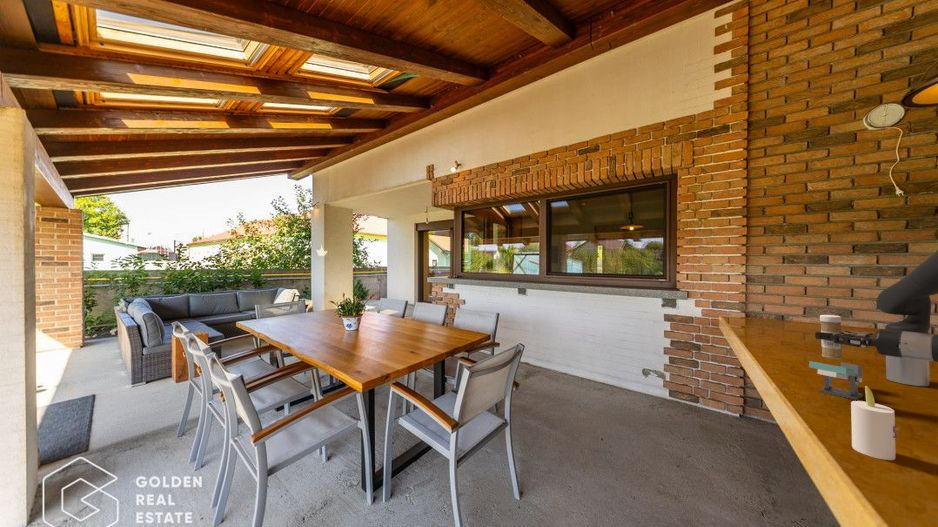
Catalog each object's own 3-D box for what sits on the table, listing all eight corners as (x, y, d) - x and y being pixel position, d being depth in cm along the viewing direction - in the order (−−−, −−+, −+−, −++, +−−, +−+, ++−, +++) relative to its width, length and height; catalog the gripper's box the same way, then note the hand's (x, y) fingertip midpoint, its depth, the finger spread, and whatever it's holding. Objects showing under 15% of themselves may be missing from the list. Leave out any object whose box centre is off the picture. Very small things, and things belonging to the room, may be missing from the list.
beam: (836, 378, 116) (837, 361, 117) (870, 385, 109) (871, 368, 110) (808, 372, 104) (809, 354, 105) (845, 380, 97) (846, 361, 98)
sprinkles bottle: (844, 358, 102) (842, 315, 103) (841, 360, 100) (839, 317, 100) (823, 355, 106) (821, 314, 106) (819, 357, 104) (818, 315, 104)
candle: (892, 463, 71) (891, 394, 71) (847, 448, 76) (846, 385, 76) (900, 455, 73) (899, 389, 73) (856, 441, 79) (855, 380, 79)
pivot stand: (826, 388, 112) (826, 366, 112) (862, 396, 105) (862, 373, 105) (820, 391, 109) (819, 369, 109) (856, 400, 102) (856, 376, 102)
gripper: (911, 328, 94) (826, 320, 109) (898, 334, 87) (809, 324, 102) (912, 354, 94) (826, 343, 109) (899, 362, 87) (810, 348, 102)
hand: (818, 334), depth 105 cm, fingers closed on sprinkles bottle, 4 cm apart
